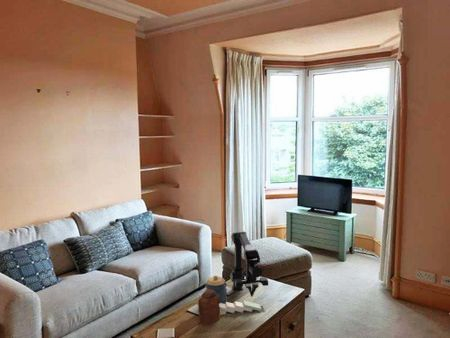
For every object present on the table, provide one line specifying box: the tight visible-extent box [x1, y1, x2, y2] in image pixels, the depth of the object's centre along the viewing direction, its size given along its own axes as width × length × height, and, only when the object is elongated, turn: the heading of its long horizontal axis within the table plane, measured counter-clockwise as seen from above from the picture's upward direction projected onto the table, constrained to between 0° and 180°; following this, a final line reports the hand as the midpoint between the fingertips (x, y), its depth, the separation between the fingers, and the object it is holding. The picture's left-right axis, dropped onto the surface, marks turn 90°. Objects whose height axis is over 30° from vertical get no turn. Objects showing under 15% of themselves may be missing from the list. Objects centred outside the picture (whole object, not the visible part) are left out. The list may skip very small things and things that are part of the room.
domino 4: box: [242, 300, 261, 311], centre depth 201 cm, size 5×2×10 cm
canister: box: [204, 275, 228, 304], centre depth 210 cm, size 13×13×18 cm
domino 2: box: [225, 301, 243, 313], centre depth 200 cm, size 5×2×10 cm
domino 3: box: [233, 301, 252, 312], centre depth 200 cm, size 5×2×10 cm
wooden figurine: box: [197, 289, 221, 326], centre depth 189 cm, size 12×6×18 cm, turn 125°
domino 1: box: [219, 303, 234, 313], centre depth 199 cm, size 5×2×10 cm
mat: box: [222, 305, 266, 316], centre depth 201 cm, size 7×24×1 cm, turn 96°
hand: (251, 296), depth 200 cm, fingers closed
